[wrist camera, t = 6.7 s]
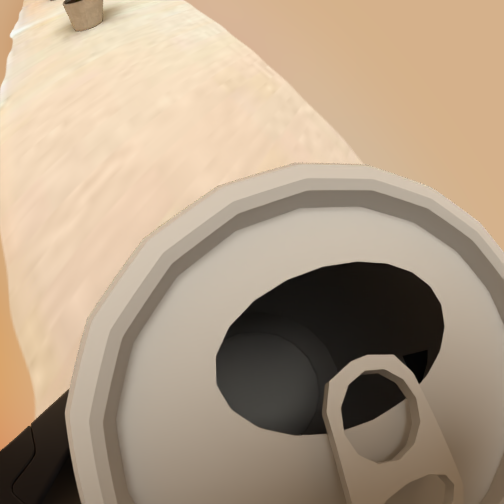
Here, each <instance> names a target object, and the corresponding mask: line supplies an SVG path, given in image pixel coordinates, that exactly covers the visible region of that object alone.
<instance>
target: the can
mask: <svg viewBox="0 0 504 504" xmlns="http://www.w3.org/2000/svg"><path fill="white" fill-rule="evenodd" d="M424 350H428V359H427V365H426V369H425V372H424V376H423V379H422V382H421V383H420V384H419V383H418V381H417V379H416V377H415V375H414V374H413V372H412V371H411V370H410V369H409V368H408V367H407V366H406V363H405V361H404V358H403V356H404V355H408V354H412V353H416V352H420V351H424ZM65 419H66V427H67V435H68V441H69V448H70V454H71V459H72V465H73V470H74V475H75V479H76V484H77V488H78V492H79V496H80V500H81V503H82V504H504V252H503V251H502V250H501V248H500V247H499V246H498V244H497V243H496V242H495V241H494V239H493V238H492V237H491V236H490V234H489V233H488V232H487V231H486V230H485V228H484V227H483V226H482V225H481V223H479V222H478V221H477V220H476V219H474V218H473V217H472V216H470V215H469V214H468V213H466V212H465V211H464V210H462V209H461V208H460V207H458V206H457V205H455V204H454V203H453V202H452V201H450V200H449V199H447V198H446V197H444V196H443V195H442V194H440V193H439V192H437V191H436V190H434V189H433V188H431V187H429V186H427V185H424V184H421V183H419V182H416V181H413V180H410V179H408V178H405V177H402V176H399V175H396V174H393V173H390V172H387V171H384V170H381V169H378V168H375V167H372V166H369V165H361V164H335V163H293V164H289V165H286V166H282V167H279V168H275V169H272V170H268V171H265V172H261V173H258V174H255V175H251V176H248V177H245V178H241V179H238V180H235V181H232V182H229V183H226V184H222V185H219V186H217V187H215V188H214V189H212V190H211V191H210V192H208V193H207V194H205V195H204V196H202V197H201V198H199V199H198V200H196V201H195V202H193V203H192V204H191V205H189V206H188V207H186V208H185V209H183V210H182V211H181V212H179V213H178V214H176V215H175V216H174V217H172V218H171V219H169V220H168V221H167V222H165V223H164V224H162V225H161V226H160V227H158V228H157V229H156V230H154V231H153V232H152V233H150V234H149V235H147V236H146V237H145V238H143V240H142V241H141V242H140V244H139V245H138V246H137V248H136V249H135V250H134V252H133V253H132V255H131V256H130V257H129V259H128V260H127V261H126V263H125V264H124V266H123V267H122V268H121V270H120V271H119V273H118V274H117V275H116V277H115V278H114V280H113V281H112V282H111V284H110V285H109V287H108V288H107V290H106V291H105V293H104V294H103V296H102V297H101V299H100V300H99V302H98V303H97V304H96V306H95V308H94V309H93V311H92V312H91V314H90V315H89V317H88V318H87V322H86V325H85V328H84V332H83V335H82V339H81V343H80V347H79V350H78V354H77V358H76V362H75V366H74V371H73V375H72V379H71V384H70V389H69V393H68V398H67V404H66V409H65Z"/></svg>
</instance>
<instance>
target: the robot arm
mask: <svg viewBox="0 0 504 504" xmlns="http://www.w3.org/2000/svg"><path fill="white" fill-rule="evenodd" d="M403 358H404V361H405V363H406V366H407V367H408V368H409V369H410V370H411V371H412V372H413V374H414V375H415V377H416V379H417V381H418V383H419V384H420V383H421V382H422V379H423V376H424V372H425V369H426V365H427V359H428V350H424V351H420V352H416V353H412V354H408V355H404V356H403ZM69 389H70V388H69ZM69 389H68V390H67V391H66V392H65V393H64V394H63V395H62V396H61V397H59V398H58V399H57V400H56V401H55V402H54V403H53V404H52V405H51V406H50V407H49V408H47V409H46V410H45V411H44V412H43V413H42V414H41V415H40V416H39V417H38V418H37V419H36V420H34V421H33V422H32V423H31V426H28V427H27V428H26V429H25V430H24V431H23V432H21V433H20V434H19V435H18V436H17V437H16V438H15V439H14V440H13V441H11V442H10V443H9V444H8V445H7V446H6V447H5V448H3V449H2V450H1V451H0V504H82V503H81V500H80V496H79V492H78V488H77V484H76V479H75V475H74V470H73V465H72V459H71V454H70V448H69V441H68V435H67V427H66V419H65V409H66V404H67V398H68V393H69Z"/></svg>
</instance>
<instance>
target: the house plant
mask: <svg viewBox="0 0 504 504" xmlns="http://www.w3.org/2000/svg"><path fill="white" fill-rule="evenodd" d="M63 6H64V8H65V10H66V12H67V14H68V16H69V18H70V21H71V23H72V25H73V27H74V29H75V31H83V30H87V29H90V28H92V27H95V26H97V25H98V24H100V23H101V22H102V20H103V0H65V1H64V2H63Z"/></svg>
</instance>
